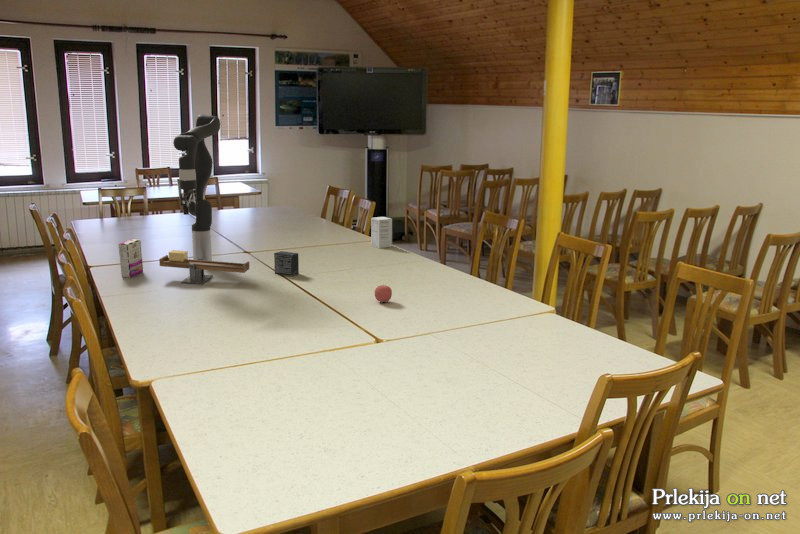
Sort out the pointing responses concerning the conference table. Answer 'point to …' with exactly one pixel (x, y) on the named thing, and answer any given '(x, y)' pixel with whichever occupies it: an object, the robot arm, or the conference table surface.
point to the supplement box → (381, 232)
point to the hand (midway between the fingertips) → (189, 213)
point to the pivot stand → (196, 276)
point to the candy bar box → (130, 258)
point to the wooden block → (178, 256)
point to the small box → (286, 263)
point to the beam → (207, 265)
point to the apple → (383, 293)
